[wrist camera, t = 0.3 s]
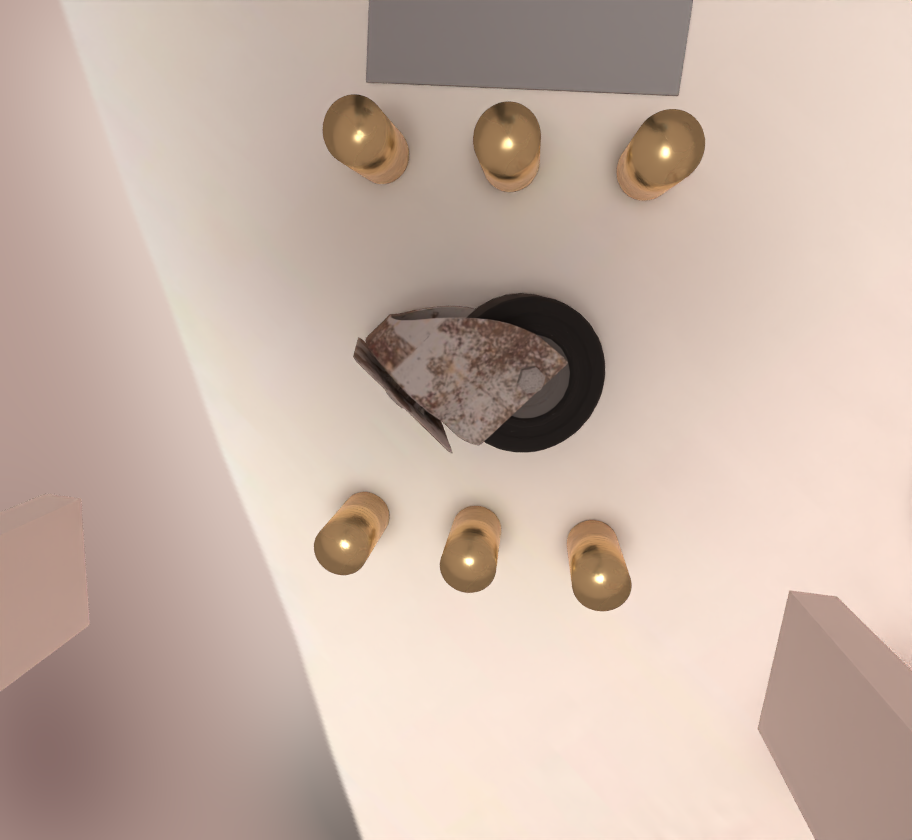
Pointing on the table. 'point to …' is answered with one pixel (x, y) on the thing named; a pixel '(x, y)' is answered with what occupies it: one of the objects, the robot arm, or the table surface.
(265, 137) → the table surface
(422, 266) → the table surface
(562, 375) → the caster wheel
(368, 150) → the posts
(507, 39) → the rubber mat
